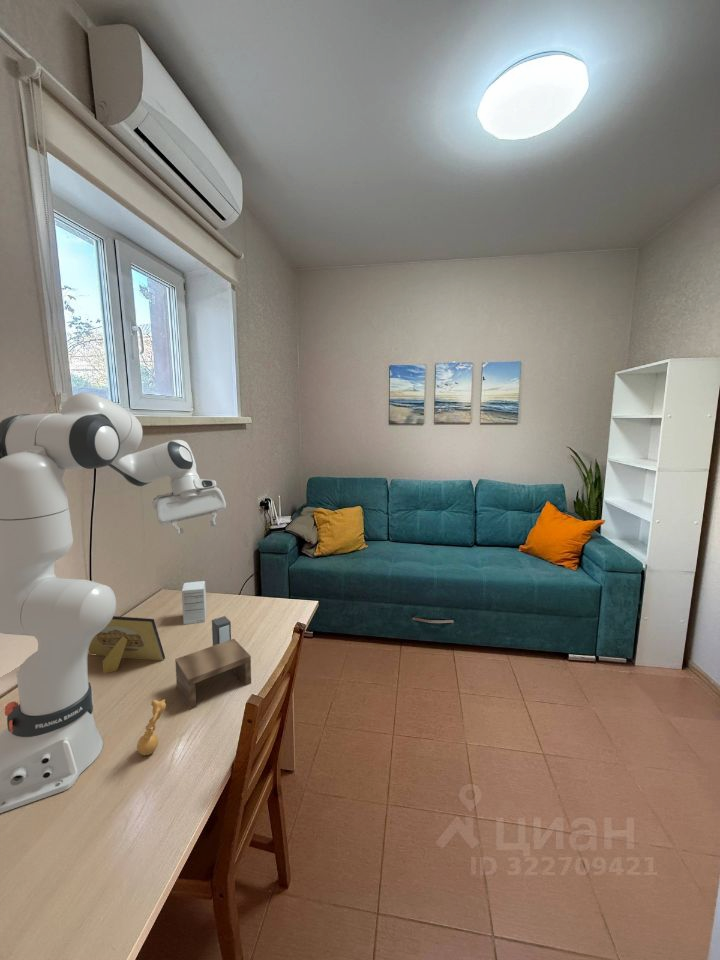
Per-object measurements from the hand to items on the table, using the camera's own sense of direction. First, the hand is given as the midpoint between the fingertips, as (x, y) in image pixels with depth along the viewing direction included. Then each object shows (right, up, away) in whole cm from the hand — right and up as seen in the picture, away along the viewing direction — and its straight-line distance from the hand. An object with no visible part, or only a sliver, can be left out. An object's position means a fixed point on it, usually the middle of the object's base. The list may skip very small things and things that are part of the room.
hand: (197, 530), depth 122 cm
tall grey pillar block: (+9, -37, -3) cm, 39 cm away
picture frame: (-20, -38, -8) cm, 44 cm away
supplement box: (-9, -34, +19) cm, 40 cm away
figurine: (+6, -43, -38) cm, 58 cm away
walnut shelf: (+11, -39, -17) cm, 44 cm away
